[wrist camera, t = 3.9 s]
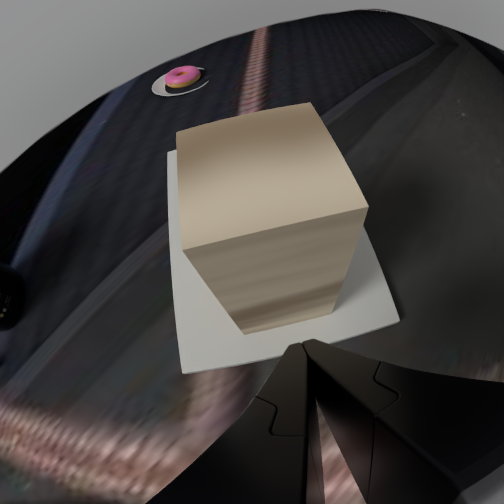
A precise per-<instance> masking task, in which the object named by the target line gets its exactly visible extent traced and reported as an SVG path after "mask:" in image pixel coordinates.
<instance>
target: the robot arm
mask: <svg viewBox="0 0 504 504" xmlns="http://www.w3.org/2000/svg"><path fill="white" fill-rule="evenodd" d="M315 397H316V398H315ZM316 400H317V403H318V405H319V407H320V409H321V411H322V413H323V415H324V417H325V420H326V422H327V424H328V426H329V428H330V430H331V432H332V434H333V436H334V438H335V440H336V442H337V444H338V446H339V448H340V450H341V453H342V455H343V457H344V459H345V461H346V463H347V465H348V467H349V469H350V471H351V473H352V475H353V477H354V479H355V481H356V483H357V485H358V487H359V489H360V491H361V493H362V496H363V498H364V500H365V502H366V503H367V504H504V383H503V382H494V381H485V380H477V379H469V378H462V377H455V376H448V375H442V374H435V373H429V372H423V371H418V370H413V369H408V368H404V367H400V366H397V365H393V364H390V363H386V362H381V361H379V360H376V359H372V358H369V357H366V356H363V355H360V354H357V353H354V352H351V351H348V350H345V349H342V348H339V347H337V346H334V345H331V344H328V343H325V342H322V341H319V340H317V339H310V340H306V341H303V342H302V343H300V342H298V343H294V344H290V345H289V346H288V347H287V349H286V350H285V352H284V353H283V355H282V356H281V358H280V359H279V361H278V363H277V364H276V366H275V367H274V369H273V370H272V372H271V373H270V375H269V376H268V378H267V379H266V381H265V382H264V384H263V385H262V387H261V388H260V390H259V391H258V393H257V394H256V395H255V397H254V398H253V399H252V400H251V402H250V403H249V405H248V406H247V407H246V409H245V410H244V411H243V412H242V414H241V415H240V416H239V417H238V418H237V419H236V421H235V422H234V423H233V424H232V425H231V426H230V427H229V428H228V429H227V430H226V431H225V432H224V433H223V434H222V435H221V436H220V437H219V438H218V439H217V440H216V441H215V442H214V443H213V444H212V445H211V446H210V447H209V448H208V449H207V450H206V451H205V452H204V453H203V454H202V455H200V456H199V457H198V458H197V459H196V460H195V461H194V462H193V463H192V464H191V465H190V466H189V467H187V468H186V469H185V470H184V471H183V472H182V473H181V474H180V475H179V476H177V477H176V478H175V479H174V480H173V481H172V482H171V483H169V484H168V485H167V486H166V487H165V488H164V489H162V490H161V491H160V492H159V493H158V494H156V495H155V496H154V497H153V498H152V499H150V500H149V501H148V502H147V503H145V504H325V495H324V480H323V467H322V455H321V444H320V433H319V423H318V413H317V405H316Z"/></svg>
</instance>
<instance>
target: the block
mask: <svg viewBox="0 0 504 504" xmlns="http://www.w3.org/2000/svg"><path fill="white" fill-rule="evenodd" d="M176 144H177V177H178V199H179V216H180V231H181V245H182V251H183V252H184V254H185V255H186V257H187V258H188V260H189V261H190V262H191V264H192V265H193V267H194V268H195V269H196V271H197V272H198V274H199V275H200V276H201V278H202V279H203V281H204V282H205V283H206V285H207V286H208V288H209V289H210V290H211V292H212V293H213V294H214V296H215V297H216V298H217V300H218V301H219V302H220V304H221V305H222V307H223V308H224V309H225V311H226V312H227V313H228V315H229V316H230V317H231V319H232V320H233V321H234V323H235V324H236V325H237V326H238V328H239V329H240V330H241V332H242V333H243V334H244V335H246V334H251V333H256V332H260V331H265V330H269V329H273V328H278V327H282V326H286V325H290V324H294V323H298V322H302V321H306V320H310V319H314V318H318V317H322V316H326V315H329V314H331V313H332V311H333V308H334V306H335V303H336V300H337V298H338V295H339V293H340V290H341V287H342V285H343V282H344V279H345V276H346V274H347V271H348V268H349V265H350V263H351V260H352V257H353V254H354V251H355V248H356V245H357V242H358V239H359V236H360V233H361V230H362V227H363V224H364V220H365V217H366V214H367V211H368V207H369V206H368V204H367V202H366V200H365V198H364V196H363V194H362V192H361V190H360V188H359V186H358V184H357V182H356V180H355V178H354V176H353V175H352V173H351V171H350V169H349V167H348V165H347V163H346V162H345V160H344V158H343V156H342V154H341V153H340V151H339V149H338V147H337V146H336V144H335V142H334V140H333V139H332V137H331V135H330V134H329V132H328V130H327V129H326V127H325V125H324V124H323V122H322V120H321V119H320V117H319V116H318V114H317V112H316V111H315V109H314V108H313V106H312V104H311V103H304V104H297V105H291V106H285V107H280V108H274V109H269V110H264V111H259V112H254V113H249V114H245V115H240V116H236V117H232V118H228V119H223V120H219V121H215V122H212V123H208V124H204V125H200V126H197V127H193V128H190V129H186V130H183V131H179V132H176Z"/></svg>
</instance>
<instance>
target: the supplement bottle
mask: <svg viewBox="0 0 504 504" xmlns="http://www.w3.org/2000/svg"><path fill="white" fill-rule="evenodd" d="M24 296H25V287H24V281H23V278H22V276H21V274H20V273H19V272H18V271H17V270H15V269H14V268H13V267H11V266H10V265H8V264H7V263H5V262H4V261H2V260H1V259H0V331H5V330H7V329H9V328H10V327H11V326H13V324H14V323H15V322H16V320H17V319H18V317H19V315H20V313H21V310H22V307H23V303H24Z"/></svg>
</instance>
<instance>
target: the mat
mask: <svg viewBox="0 0 504 504" xmlns="http://www.w3.org/2000/svg"><path fill="white" fill-rule="evenodd" d="M168 217H169V240H170V257H171V272H172V285H173V297H174V308H175V318H176V327H177V336H178V344H179V352H180V360H181V367H182V373H183V374H191V373H197V372H204V371H210V370H216V369H222V368H227V367H233V366H238V365H243V364H248V363H253V362H258V361H263V360H268V359H272V358H277V357H281V356H282V355H283V353H284V352H285V350H286V349H287V347H288V346H289V345H290V344H294V343H298V342H300V343H302V342H303V341H306V340H310V339H317V340H319V341H322V342H325V343H328V344H332V343H336V342H339V341H343V340H346V339H349V338H353V337H356V336H359V335H363V334H366V333H369V332H372V331H375V330H378V329H381V328H384V327H387V326H390V325H393V324H396V323H398V322H399V321H400V319H399V316H398V313H397V310H396V308H395V305H394V302H393V299H392V296H391V293H390V291H389V288H388V285H387V283H386V280H385V277H384V275H383V272H382V269H381V267H380V264H379V262H378V259H377V257H376V254H375V252H374V249H373V247H372V245H371V242H370V240H369V238H368V235H367V233H366V231H365V228H364V226H363V227H362V230H361V233H360V236H359V239H358V242H357V245H356V248H355V251H354V254H353V257H352V260H351V263H350V265H349V268H348V271H347V274H346V276H345V279H344V282H343V285H342V287H341V290H340V293H339V295H338V298H337V300H336V303H335V306H334V308H333V311H332V313H331V314H329V315H326V316H322V317H318V318H314V319H310V320H306V321H302V322H298V323H294V324H290V325H286V326H282V327H278V328H273V329H269V330H265V331H260V332H256V333H251V334H246V335H244V334H243V333H242V332H241V330H240V329H239V328H238V326H237V325H236V324H235V323H234V321H233V320H232V319H231V317H230V316H229V315H228V313H227V312H226V311H225V309H224V308H223V307H222V305H221V304H220V302H219V301H218V300H217V298H216V297H215V296H214V294H213V293H212V292H211V290H210V289H209V288H208V286H207V285H206V283H205V282H204V281H203V279H202V278H201V276H200V275H199V274H198V272H197V271H196V269H195V268H194V267H193V265H192V264H191V262H190V261H189V260H188V258H187V257H186V255H185V254H184V252H183V251H182V245H181V231H180V216H179V199H178V177H177V150H174V151H170V152H168Z"/></svg>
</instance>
